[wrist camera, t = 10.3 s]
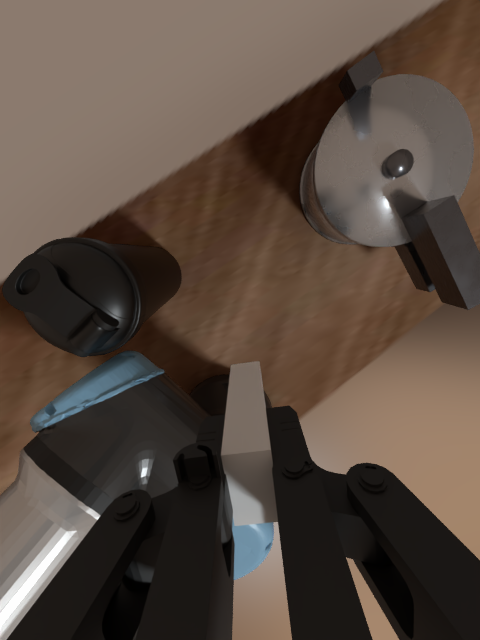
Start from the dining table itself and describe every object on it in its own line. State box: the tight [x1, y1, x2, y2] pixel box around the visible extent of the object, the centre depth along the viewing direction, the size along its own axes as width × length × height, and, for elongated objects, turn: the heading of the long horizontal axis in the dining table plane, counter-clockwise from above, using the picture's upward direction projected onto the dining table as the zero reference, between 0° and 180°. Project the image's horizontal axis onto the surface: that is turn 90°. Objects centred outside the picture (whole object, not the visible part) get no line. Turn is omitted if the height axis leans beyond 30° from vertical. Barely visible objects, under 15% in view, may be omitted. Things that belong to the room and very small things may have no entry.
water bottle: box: [2, 237, 181, 357], centre depth 32 cm, size 10×10×23 cm
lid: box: [313, 51, 480, 310], centre depth 28 cm, size 25×16×5 cm, turn 33°
